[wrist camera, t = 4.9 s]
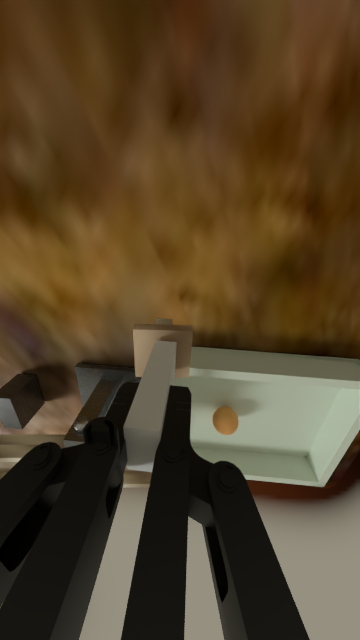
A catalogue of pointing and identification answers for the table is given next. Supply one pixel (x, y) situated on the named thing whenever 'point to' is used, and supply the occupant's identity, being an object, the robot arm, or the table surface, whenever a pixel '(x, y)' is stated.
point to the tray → (274, 412)
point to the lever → (11, 448)
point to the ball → (225, 420)
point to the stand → (95, 389)
